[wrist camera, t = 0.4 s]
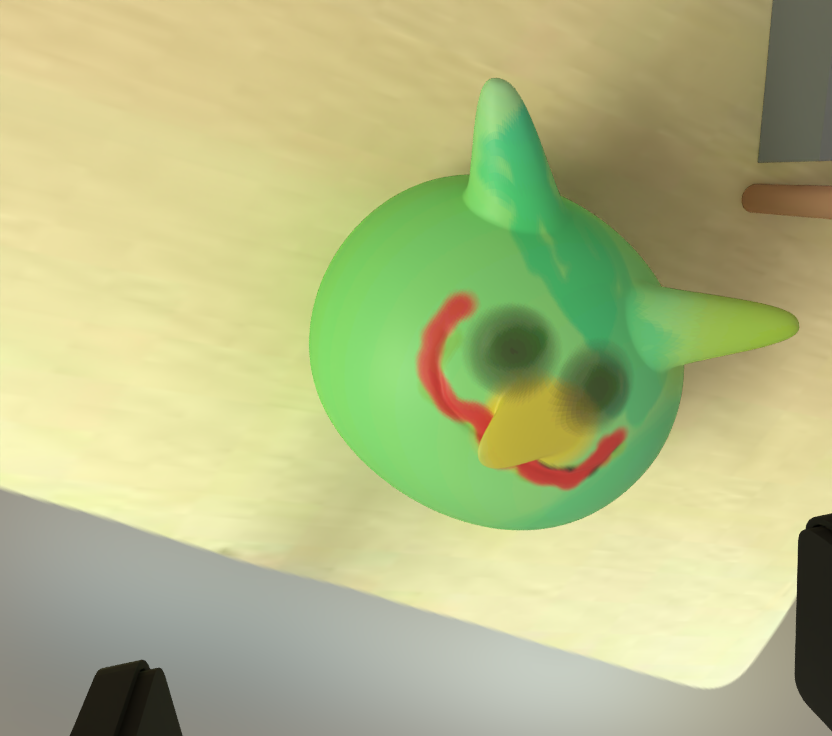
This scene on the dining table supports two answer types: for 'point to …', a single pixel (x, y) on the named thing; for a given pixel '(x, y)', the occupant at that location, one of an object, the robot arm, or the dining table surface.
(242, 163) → the dining table surface
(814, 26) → the socket plate
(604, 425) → the toy bird
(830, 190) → the canopy
